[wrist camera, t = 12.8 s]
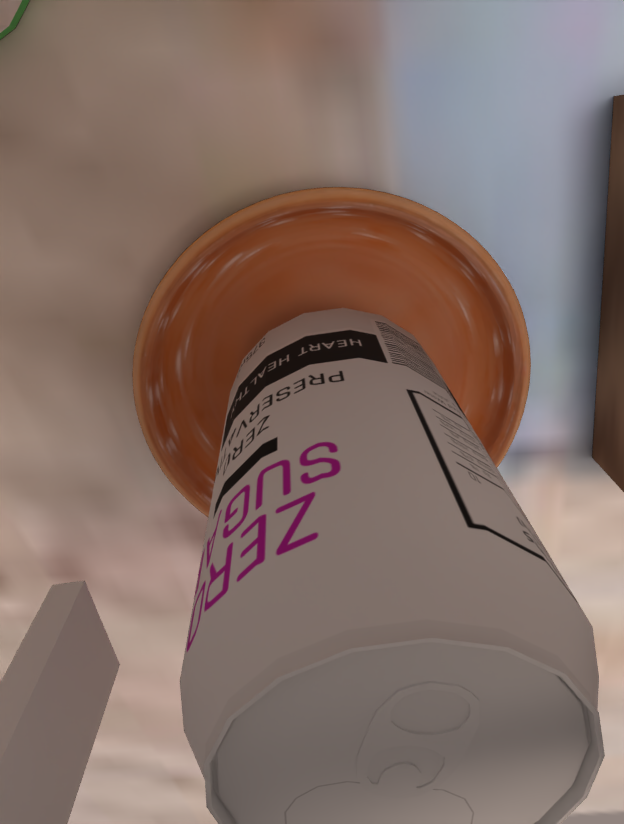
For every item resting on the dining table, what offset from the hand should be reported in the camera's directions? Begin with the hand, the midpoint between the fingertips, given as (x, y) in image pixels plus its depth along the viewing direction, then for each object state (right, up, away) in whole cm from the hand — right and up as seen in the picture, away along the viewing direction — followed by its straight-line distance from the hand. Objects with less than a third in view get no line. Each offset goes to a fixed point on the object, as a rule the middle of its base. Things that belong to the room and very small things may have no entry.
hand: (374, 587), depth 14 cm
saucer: (-1, +6, +13) cm, 14 cm away
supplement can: (-1, +5, +10) cm, 11 cm away
